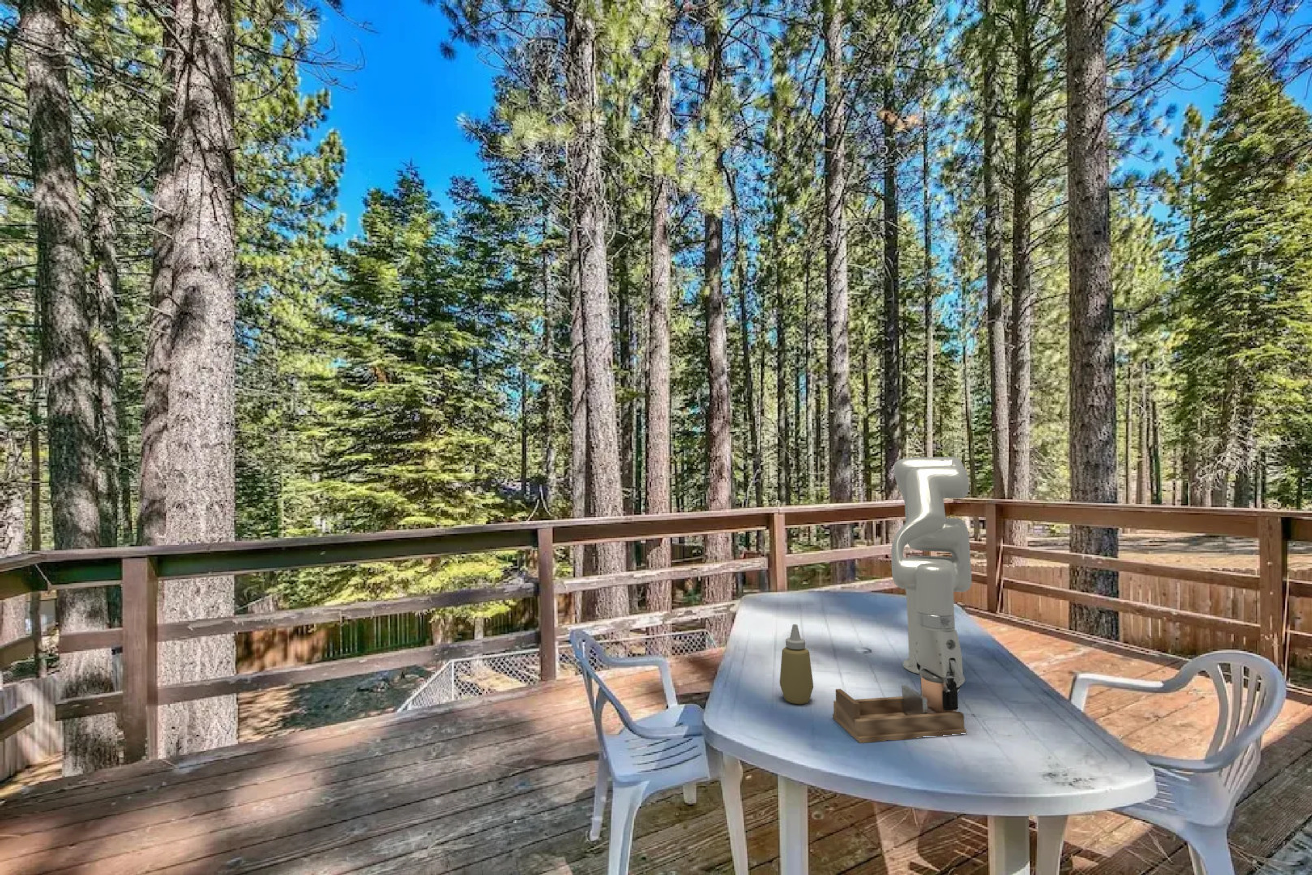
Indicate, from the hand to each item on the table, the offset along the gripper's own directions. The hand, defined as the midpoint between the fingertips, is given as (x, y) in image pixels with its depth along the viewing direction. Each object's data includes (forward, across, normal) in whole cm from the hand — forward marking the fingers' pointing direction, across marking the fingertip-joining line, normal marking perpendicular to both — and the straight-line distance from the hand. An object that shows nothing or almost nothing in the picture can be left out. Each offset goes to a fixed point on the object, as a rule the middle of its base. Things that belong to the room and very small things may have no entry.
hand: (939, 701), depth 123 cm
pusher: (+3, 0, +5) cm, 6 cm away
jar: (+2, 0, 0) cm, 2 cm away
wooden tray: (+4, 0, +9) cm, 10 cm away
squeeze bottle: (+5, +17, +26) cm, 32 cm away
